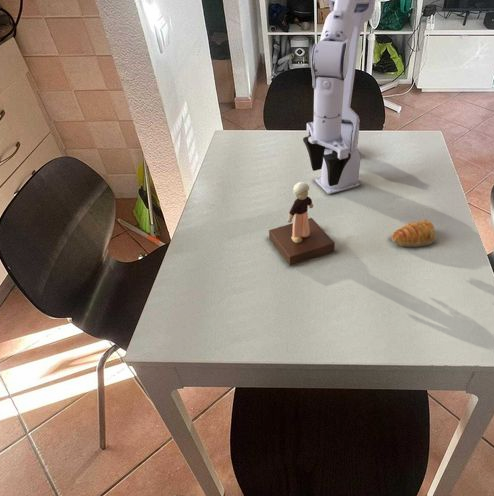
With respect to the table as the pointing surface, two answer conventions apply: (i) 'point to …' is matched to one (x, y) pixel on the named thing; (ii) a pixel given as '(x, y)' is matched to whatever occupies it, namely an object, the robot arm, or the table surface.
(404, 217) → the table surface
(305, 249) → the walnut block
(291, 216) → the grandmother figurine
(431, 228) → the pastry
